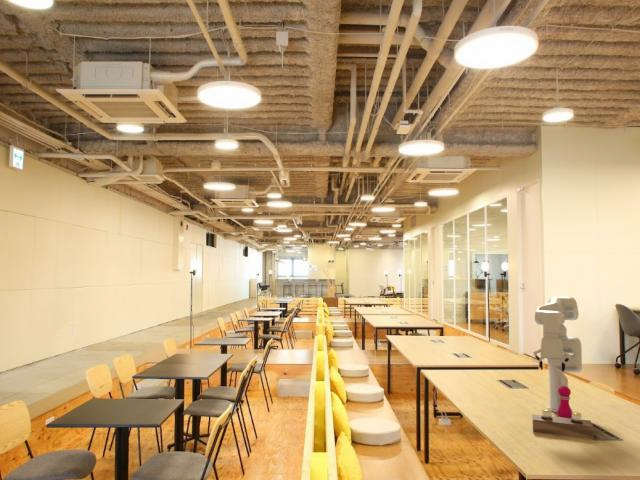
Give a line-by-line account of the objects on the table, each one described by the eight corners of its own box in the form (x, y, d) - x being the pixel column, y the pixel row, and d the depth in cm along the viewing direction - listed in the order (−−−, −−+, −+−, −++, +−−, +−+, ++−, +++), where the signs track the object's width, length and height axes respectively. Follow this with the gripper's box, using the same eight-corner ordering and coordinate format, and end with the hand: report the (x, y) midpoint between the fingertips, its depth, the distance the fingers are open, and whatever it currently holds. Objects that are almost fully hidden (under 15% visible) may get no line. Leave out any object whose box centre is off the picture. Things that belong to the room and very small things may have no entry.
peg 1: (542, 417, 238) (542, 408, 238) (551, 418, 236) (551, 409, 237) (542, 420, 234) (542, 410, 235) (551, 421, 233) (551, 411, 233)
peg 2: (571, 421, 233) (571, 411, 233) (580, 422, 232) (580, 412, 232) (572, 423, 229) (572, 414, 230) (581, 424, 228) (581, 415, 228)
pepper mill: (559, 419, 254) (558, 381, 255) (574, 422, 249) (573, 383, 251) (556, 422, 248) (554, 383, 250) (571, 425, 244) (570, 385, 245)
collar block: (532, 426, 242) (532, 414, 243) (590, 433, 232) (590, 420, 233) (533, 432, 233) (533, 419, 233) (593, 439, 223) (593, 426, 223)
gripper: (569, 336, 243) (570, 370, 242) (532, 334, 250) (533, 367, 248) (571, 337, 236) (572, 372, 235) (533, 335, 243) (533, 369, 241)
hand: (552, 370), depth 241 cm, fingers open, 9 cm apart
